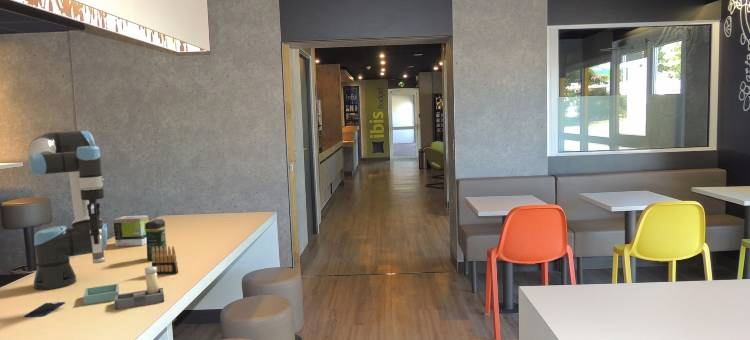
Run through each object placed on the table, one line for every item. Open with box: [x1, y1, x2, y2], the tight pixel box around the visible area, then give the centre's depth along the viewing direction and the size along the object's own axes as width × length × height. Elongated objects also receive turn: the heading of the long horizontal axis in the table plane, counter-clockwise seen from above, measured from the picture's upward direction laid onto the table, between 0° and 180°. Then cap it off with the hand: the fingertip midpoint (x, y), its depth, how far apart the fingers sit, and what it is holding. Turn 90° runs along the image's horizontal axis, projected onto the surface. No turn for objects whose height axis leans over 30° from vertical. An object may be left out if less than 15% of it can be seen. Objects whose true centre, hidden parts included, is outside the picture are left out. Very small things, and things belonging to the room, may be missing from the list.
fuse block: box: [114, 287, 165, 310], centre depth 201 cm, size 16×8×3 cm, turn 113°
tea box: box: [113, 214, 150, 247], centre depth 300 cm, size 15×10×15 cm, turn 84°
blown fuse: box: [90, 229, 106, 264], centre depth 206 cm, size 4×4×12 cm
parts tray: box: [82, 283, 120, 306], centre depth 208 cm, size 11×11×3 cm
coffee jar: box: [145, 218, 168, 261], centre depth 265 cm, size 10×8×19 cm
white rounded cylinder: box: [144, 265, 159, 295], centre depth 203 cm, size 4×4×12 cm
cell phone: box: [23, 301, 66, 318], centre depth 198 cm, size 7×14×1 cm, turn 1°
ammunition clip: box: [151, 245, 179, 276], centre depth 238 cm, size 11×2×12 cm, turn 86°
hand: (97, 251), depth 206 cm, fingers closed on blown fuse, 4 cm apart
